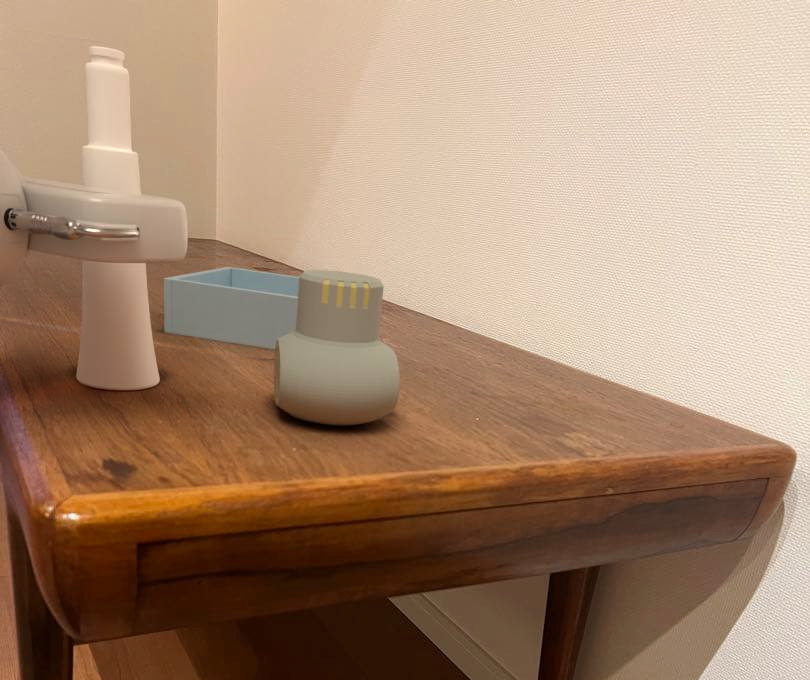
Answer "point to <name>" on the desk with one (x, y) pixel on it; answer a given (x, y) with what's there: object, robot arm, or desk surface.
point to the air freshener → (336, 353)
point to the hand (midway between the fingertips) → (121, 213)
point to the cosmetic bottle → (113, 282)
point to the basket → (232, 305)
